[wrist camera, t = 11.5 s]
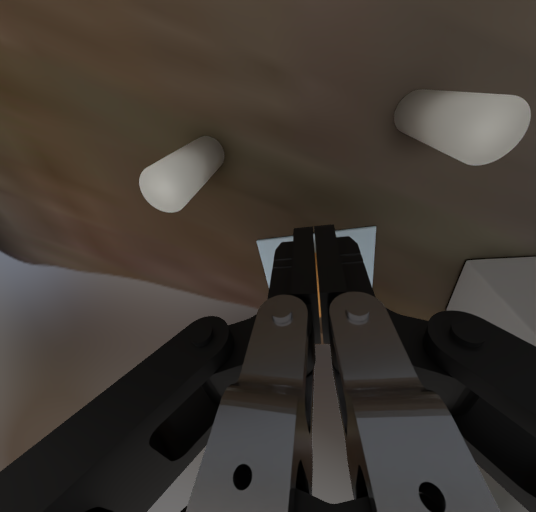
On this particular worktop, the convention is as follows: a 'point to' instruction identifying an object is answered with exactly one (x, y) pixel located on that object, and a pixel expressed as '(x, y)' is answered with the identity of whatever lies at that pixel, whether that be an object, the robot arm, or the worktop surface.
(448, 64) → the worktop surface
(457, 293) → the milk carton
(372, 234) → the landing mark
